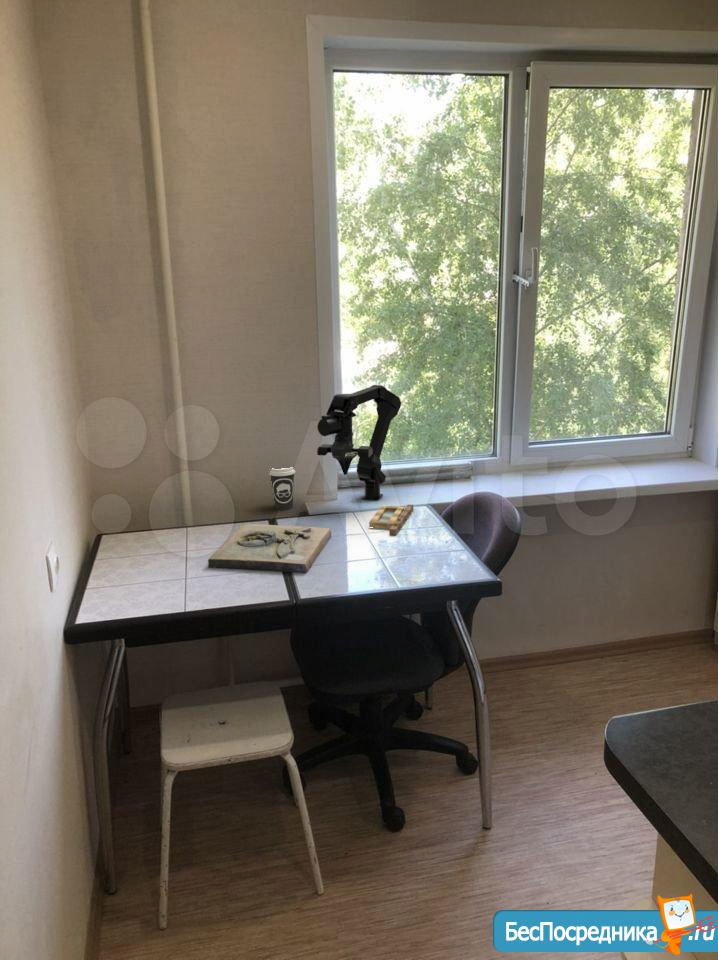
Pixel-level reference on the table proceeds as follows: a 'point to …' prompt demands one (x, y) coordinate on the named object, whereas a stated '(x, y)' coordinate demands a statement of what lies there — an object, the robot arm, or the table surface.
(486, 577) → the table surface
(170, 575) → the table surface
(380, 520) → the frame
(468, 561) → the table surface
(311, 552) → the plaque
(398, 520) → the rail
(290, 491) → the coffee cup
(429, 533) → the table surface
